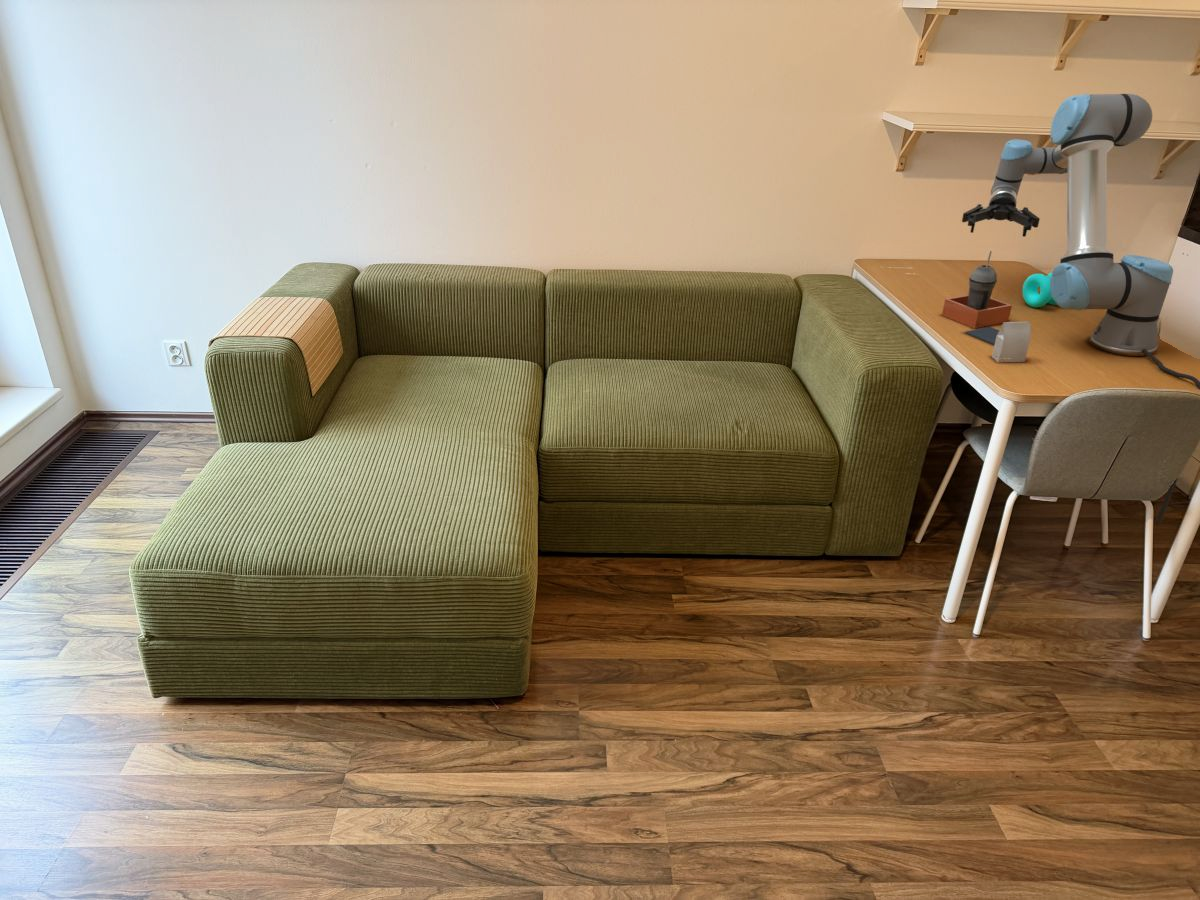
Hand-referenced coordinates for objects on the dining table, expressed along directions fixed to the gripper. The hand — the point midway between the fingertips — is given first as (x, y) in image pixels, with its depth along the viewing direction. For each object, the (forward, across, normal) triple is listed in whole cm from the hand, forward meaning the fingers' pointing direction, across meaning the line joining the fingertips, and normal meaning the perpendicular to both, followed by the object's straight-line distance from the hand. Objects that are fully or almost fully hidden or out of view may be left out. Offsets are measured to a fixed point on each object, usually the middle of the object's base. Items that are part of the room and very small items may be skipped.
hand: (998, 230), depth 226 cm
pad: (+25, -4, -21) cm, 33 cm away
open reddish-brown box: (+11, +1, -23) cm, 25 cm away
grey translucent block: (+41, -8, -18) cm, 45 cm away
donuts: (-9, -17, -26) cm, 32 cm away
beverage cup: (+11, +1, -23) cm, 25 cm away
